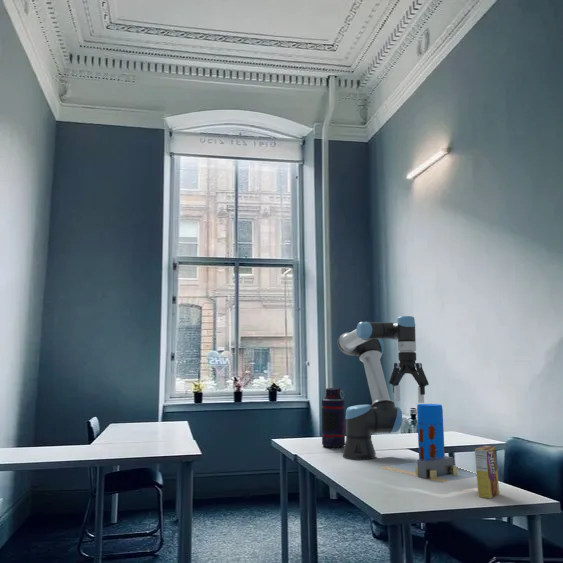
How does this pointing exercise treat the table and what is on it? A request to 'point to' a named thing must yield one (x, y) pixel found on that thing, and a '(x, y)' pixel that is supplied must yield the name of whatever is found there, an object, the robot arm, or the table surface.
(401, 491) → the table surface
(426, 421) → the red-spotted blue pillar
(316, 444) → the table surface
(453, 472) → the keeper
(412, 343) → the robot arm
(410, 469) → the door board
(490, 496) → the candy box
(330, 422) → the dark blue bottle
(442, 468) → the bar
